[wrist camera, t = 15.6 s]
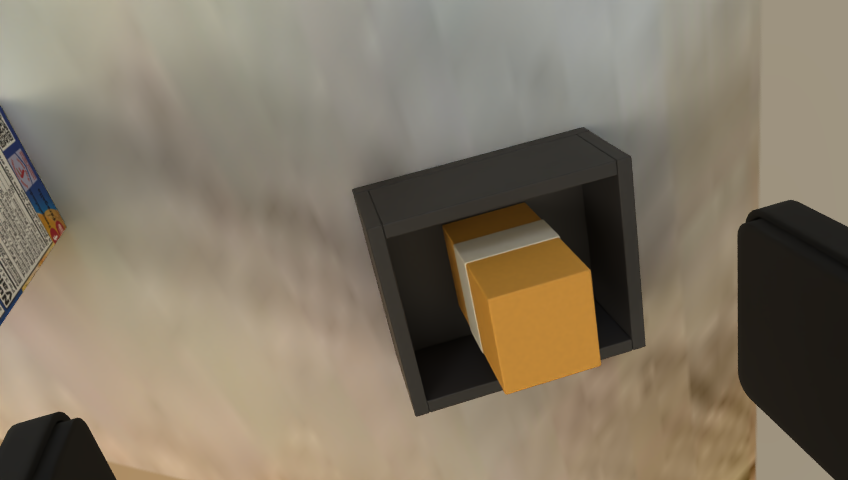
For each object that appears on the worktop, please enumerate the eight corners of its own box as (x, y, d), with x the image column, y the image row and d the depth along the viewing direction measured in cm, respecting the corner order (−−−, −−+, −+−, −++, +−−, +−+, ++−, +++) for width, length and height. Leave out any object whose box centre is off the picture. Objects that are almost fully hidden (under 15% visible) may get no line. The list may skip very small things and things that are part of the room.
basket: (397, 359, 43) (415, 417, 38) (352, 189, 38) (366, 229, 33) (601, 298, 45) (646, 346, 39) (583, 126, 40) (631, 156, 34)
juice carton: (440, 224, 39) (486, 299, 31) (525, 200, 40) (592, 268, 32) (458, 307, 42) (504, 397, 34) (538, 283, 42) (603, 366, 34)
